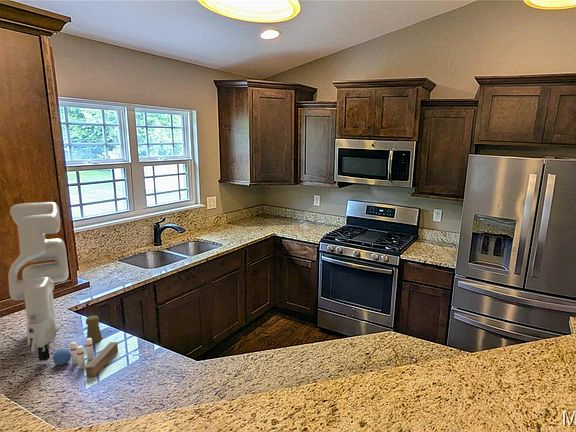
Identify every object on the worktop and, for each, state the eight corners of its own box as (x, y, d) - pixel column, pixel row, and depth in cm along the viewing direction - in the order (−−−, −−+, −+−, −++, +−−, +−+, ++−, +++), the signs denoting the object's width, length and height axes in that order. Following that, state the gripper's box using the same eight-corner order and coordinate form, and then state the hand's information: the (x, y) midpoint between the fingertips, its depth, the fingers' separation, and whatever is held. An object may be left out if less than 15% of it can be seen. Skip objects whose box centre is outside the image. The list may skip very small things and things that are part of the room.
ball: (73, 349, 142) (74, 363, 143) (66, 344, 146) (67, 358, 147) (56, 355, 138) (57, 370, 139) (50, 349, 141) (50, 364, 142)
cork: (98, 335, 165) (96, 312, 163) (104, 339, 161) (102, 316, 160) (84, 340, 161) (81, 317, 159) (90, 345, 157) (87, 321, 155)
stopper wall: (86, 377, 134) (85, 367, 134) (110, 351, 152) (110, 342, 151) (94, 377, 134) (93, 367, 134) (118, 351, 152) (117, 342, 151)
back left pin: (87, 358, 147) (85, 338, 145) (93, 356, 148) (91, 337, 146) (87, 361, 145) (85, 341, 143) (94, 359, 146) (92, 339, 144)
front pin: (72, 362, 144) (70, 342, 142) (79, 360, 145) (76, 341, 144) (72, 365, 142) (69, 345, 140) (78, 363, 143) (76, 343, 142)
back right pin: (78, 366, 141) (76, 346, 139) (85, 365, 142) (83, 345, 140) (78, 370, 139) (76, 349, 137) (85, 368, 140) (83, 347, 138)
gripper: (34, 324, 133) (40, 370, 136) (61, 307, 147) (65, 349, 151) (14, 324, 133) (20, 370, 136) (42, 307, 148) (47, 349, 151)
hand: (44, 359), depth 143 cm, fingers closed
